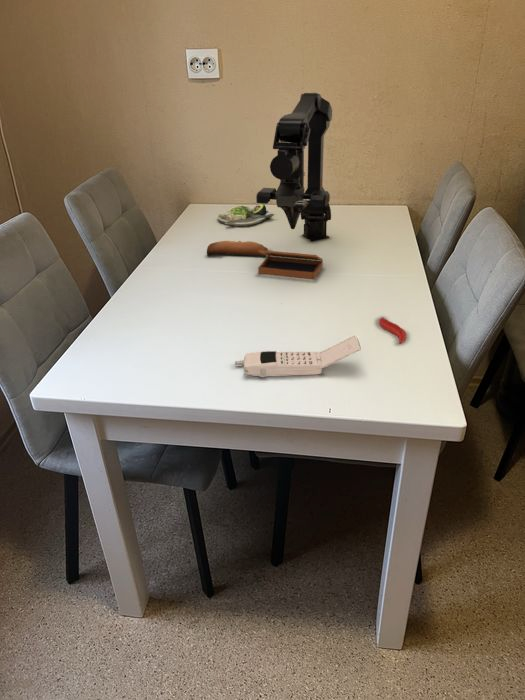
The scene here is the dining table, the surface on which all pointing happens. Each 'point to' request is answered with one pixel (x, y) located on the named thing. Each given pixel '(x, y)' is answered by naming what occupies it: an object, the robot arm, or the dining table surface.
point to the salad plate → (245, 215)
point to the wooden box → (290, 273)
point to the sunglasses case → (235, 248)
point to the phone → (291, 266)
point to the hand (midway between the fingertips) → (293, 228)
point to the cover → (291, 255)
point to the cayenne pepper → (393, 329)
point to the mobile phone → (296, 360)
